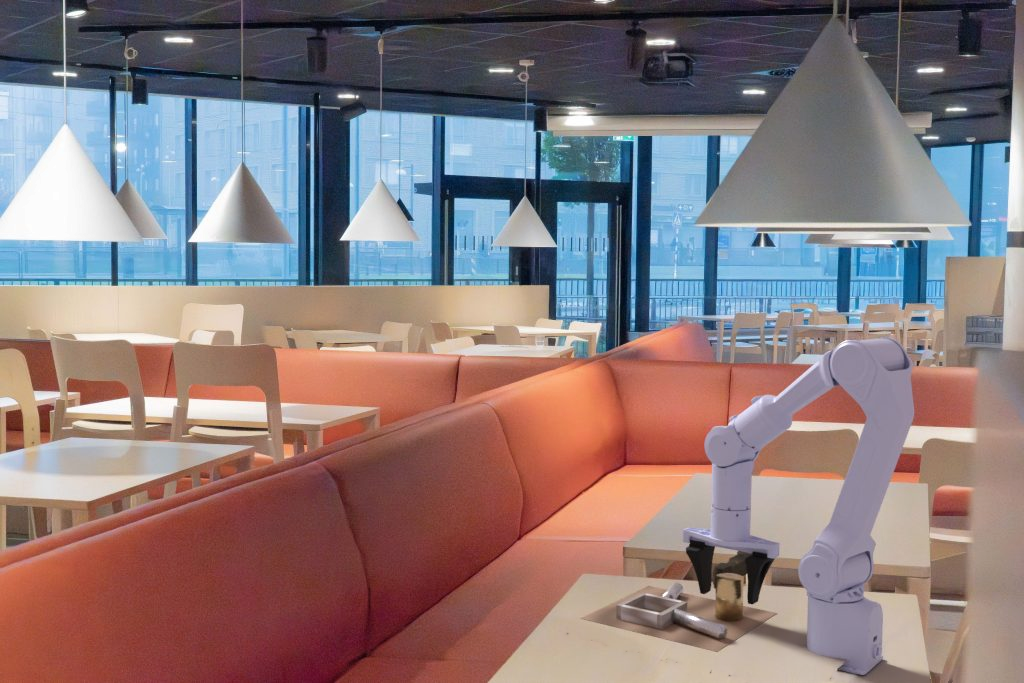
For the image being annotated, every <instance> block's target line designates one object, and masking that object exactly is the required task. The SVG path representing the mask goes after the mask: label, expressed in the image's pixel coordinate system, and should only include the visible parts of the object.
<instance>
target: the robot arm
mask: <svg viewBox="0 0 1024 683" xmlns="http://www.w3.org/2000/svg"><path fill="white" fill-rule="evenodd" d="M914 366H915V364H914V362H913V361H912V359H911V358H910V355H909V354H908V352H907V350H906V349H905V347H904V346H903V345H902V343H900V342H899V341H898V340H897V339H895V338H892V337H891V336H890V337H889V336H880V337H876V338H871V339H870V338H869V339H860V340H857V339H848V340H847V339H846V340H845V341H842V342H841V343H838V344H837V345H836V346H835V348H834V349H831V350H829V351H826V352H825V353H824V354H822V356H821V357H820V358H819V359H818V360H817V361H816V362H815V363H814V364H813V365H812V366H810V367H809V368H808V369H806V371H805V372H803V373H802V374H801V375H800V376H798V378H796V379H795V380H794V381H793V382H791V384H790V385H788V386H787V387H786V388H785V389H784V390H783V391H781V392H780V393H778V395H773V394H764V395H757V396H756V395H755V396H754V397H753V398H752V399H750V403H751V405H750V406H749V407H747V408H746V409H745V410H743V411H742V412H741V413H740V414H734V415H732V416H730V417H729V423H728V424H727V425H718V426H713V427H712V428H711V430H710V431H709V432H708V433H707V434H706V437H705V439H704V443H703V444H704V445H703V446H704V452H705V454H706V457H707V458H708V460H709V461H710V462H711V493H710V494H711V496H710V497H711V498H710V500H711V504H710V506H711V507H710V528H709V529H708V528H698V527H692V526H691V527H690V526H689V527H686V528H684V529H683V530H682V542H683V543H687V544H689V545H688V546H687V547H685V553H686V555H687V557H688V558H689V561H690V563H691V564H692V567H693V569H694V573H695V575H696V579H697V584H698V588H699V593H700V594H702V595H706V594H708V593H709V592H711V589H712V566H713V559H714V555H715V554H714V553H715V548H721V549H725V550H731V551H732V550H733V551H737V552H738V551H742V552H748V553H752V556H749V557H747V558H745V563H746V568H747V574H746V575H747V604H749V605H755V604H756V603H757V602H759V598H760V592H761V590H762V586H763V583H764V581H765V578H766V576H767V574H768V572H769V571H770V568H771V566H772V564H773V563H774V562H775V558H778V557H780V545H781V544H780V542H778V541H777V542H776V541H772V540H769V539H766V538H762V537H758V536H755V535H753V534H752V535H751V516H752V515H751V514H752V513H751V512H752V510H751V509H752V483H753V482H752V481H753V480H752V477H753V476H752V474H753V472H754V467H755V466H754V465H755V461H756V459H758V458H759V455H760V454H761V450H762V449H763V448H764V447H766V446H767V445H768V444H770V443H771V442H772V441H774V440H775V439H777V438H778V437H780V436H781V435H782V434H784V432H786V431H788V430H789V429H790V428H791V427H792V424H793V415H795V414H796V413H797V412H799V411H800V410H802V409H803V408H805V407H806V406H808V405H809V404H811V403H812V402H814V401H816V399H818V398H820V397H821V396H823V395H824V394H826V393H827V392H829V391H830V390H832V389H833V388H834V387H841V388H842V389H843V390H844V391H845V392H846V393H847V394H848V395H849V396H850V397H851V398H852V399H853V400H854V401H855V402H856V403H857V404H858V405H859V406H860V408H861V410H862V411H863V413H864V415H865V416H866V417H865V418H866V420H865V423H864V425H863V428H862V431H861V433H860V437H859V439H858V442H857V445H856V448H855V450H854V454H853V456H852V458H851V462H850V464H849V467H848V469H847V473H846V475H845V478H844V481H843V484H842V487H841V490H840V491H839V492H840V493H839V495H838V498H837V502H836V503H835V506H834V509H833V512H832V514H831V518H830V521H829V523H828V524H827V525H826V526H825V528H823V530H822V531H821V532H820V533H819V534H818V535H817V537H816V538H815V539H814V541H813V543H812V546H811V548H810V549H809V551H808V552H807V553H806V552H805V554H804V555H803V556H802V557H801V559H800V561H799V563H798V568H797V569H798V570H797V572H798V573H797V574H798V578H799V581H800V584H801V585H802V587H803V588H804V589H805V591H806V596H807V614H806V616H807V618H806V619H807V620H806V621H807V623H806V648H807V649H808V650H809V651H810V652H812V653H814V654H816V655H819V656H823V657H827V658H835V659H841V660H845V662H843V663H842V664H841V665H840V666H839V667H837V670H839V671H842V672H843V671H844V672H847V673H852V674H856V675H860V676H864V675H866V674H868V672H870V671H871V670H872V669H874V668H875V666H876V665H878V664H879V663H880V662H881V661H882V660H883V659H884V655H883V654H882V652H883V629H884V628H883V624H884V623H883V621H884V620H883V618H884V617H883V616H884V615H883V614H884V613H883V608H882V605H881V603H879V602H876V601H874V600H870V599H868V598H866V597H865V596H864V595H865V584H866V583H868V582H869V580H871V578H872V576H873V574H874V571H875V570H874V569H875V568H874V567H875V565H874V551H875V550H876V549H875V548H876V546H877V543H876V541H875V539H874V538H873V536H872V531H873V528H874V525H875V523H876V521H877V518H878V515H879V512H880V511H881V510H880V509H881V507H882V504H883V502H884V500H885V496H886V494H887V491H888V488H889V486H890V482H891V479H892V478H893V474H894V472H895V470H896V467H897V464H898V461H899V459H900V456H901V453H902V451H903V448H904V445H905V443H906V440H907V437H908V434H909V431H910V429H911V426H912V424H913V421H914V419H915V418H914V417H915V405H914V395H913V388H912V386H913V385H912V378H911V376H912V373H913V369H914Z"/></svg>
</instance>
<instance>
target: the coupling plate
mask: <svg viewBox="0 0 1024 683" xmlns="http://www.w3.org/2000/svg"><path fill="white" fill-rule="evenodd" d="M667 590H668V589H666V588H660V587H656V586H655V587H654V586H651V585H648V586H645V587H644V588H641V589H639V590H637V591H635V592H633V593H631V594H628V595H626V596H624V597H622V598H620V599H618V600H616V601H614V602H612V603H610V604H608V605H605V606H603V607H601V608H599V609H597V610H595V611H592V612H590V613H589V614H587V615H584V616H582V617H580V619H581V620H584V621H588V622H593V623H596V624H602V625H604V626H609V627H613V628H616V629H617V628H618V629H621V630H626V631H629V632H634V633H637V634H638V633H639V634H643V635H646V636H650V637H655V638H659V639H662V640H666V641H670V642H675V643H679V644H683V645H688V646H691V647H695V648H700V649H704V650H707V651H712V652H716V653H718V652H719V651H721V650H722V649H724V648H726V647H727V646H728V645H731V644H732V643H734V642H735V641H736V640H738V639H740V638H741V637H743V636H744V635H746V634H747V633H749V632H751V631H752V630H754V629H756V628H757V627H758V626H760V625H762V624H763V623H764V622H766V621H768V620H769V619H771V618H773V617H775V616H776V615H777V614H778V612H776V611H775V612H774V611H769V610H764V609H759V608H757V607H756V608H755V607H750V606H746V605H743V619H742V620H739V621H723V620H720V619H717V618H716V617H715V599H713V598H708V597H703V596H698V595H694V594H688V593H684V592H682V594H681V595H680V596H679V597H678V599H677V600H675V599H670V598H666V597H662V596H663V594H664V593H665V592H666V591H667ZM674 609H679V610H682V611H685V612H688V613H691V614H693V615H696V616H699V617H702V618H705V619H708V620H711V621H713V622H716V623H719V624H722V625H725V626H726V627H727V635H726V637H725V638H724V639H722V640H720V639H718V638H715V637H712V636H709V635H707V634H704V633H701V632H699V631H696V630H693V629H690V628H688V627H685V626H682V625H679V624H677V623H674V622H672V619H671V616H672V612H673V610H674Z"/></svg>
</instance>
